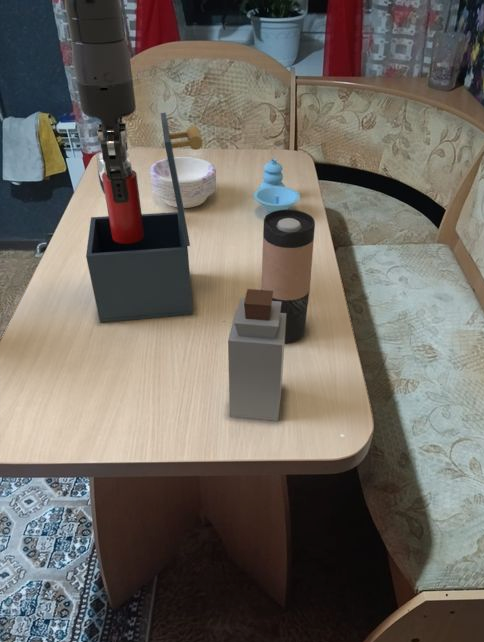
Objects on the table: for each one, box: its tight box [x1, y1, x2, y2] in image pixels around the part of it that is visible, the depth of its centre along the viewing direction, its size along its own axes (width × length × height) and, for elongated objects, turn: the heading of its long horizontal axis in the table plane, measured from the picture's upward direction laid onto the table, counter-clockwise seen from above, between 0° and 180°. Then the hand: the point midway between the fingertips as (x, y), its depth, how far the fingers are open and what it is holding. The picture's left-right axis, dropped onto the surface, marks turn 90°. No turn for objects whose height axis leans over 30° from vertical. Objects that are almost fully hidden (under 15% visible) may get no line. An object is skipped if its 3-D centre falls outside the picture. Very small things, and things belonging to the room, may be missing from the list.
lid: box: [160, 112, 203, 247], centre depth 86 cm, size 16×14×5 cm
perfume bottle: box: [227, 288, 286, 422], centre depth 72 cm, size 7×7×18 cm
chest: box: [85, 211, 193, 324], centre depth 94 cm, size 16×14×13 cm
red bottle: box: [102, 161, 144, 244], centre depth 86 cm, size 5×5×12 cm
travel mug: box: [260, 209, 316, 344], centre depth 85 cm, size 8×8×20 cm
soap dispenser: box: [253, 158, 301, 214], centre depth 125 cm, size 18×10×9 cm, turn 5°
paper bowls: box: [149, 156, 217, 209], centre depth 127 cm, size 15×15×8 cm
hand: (121, 193), depth 85 cm, fingers closed on red bottle, 5 cm apart
